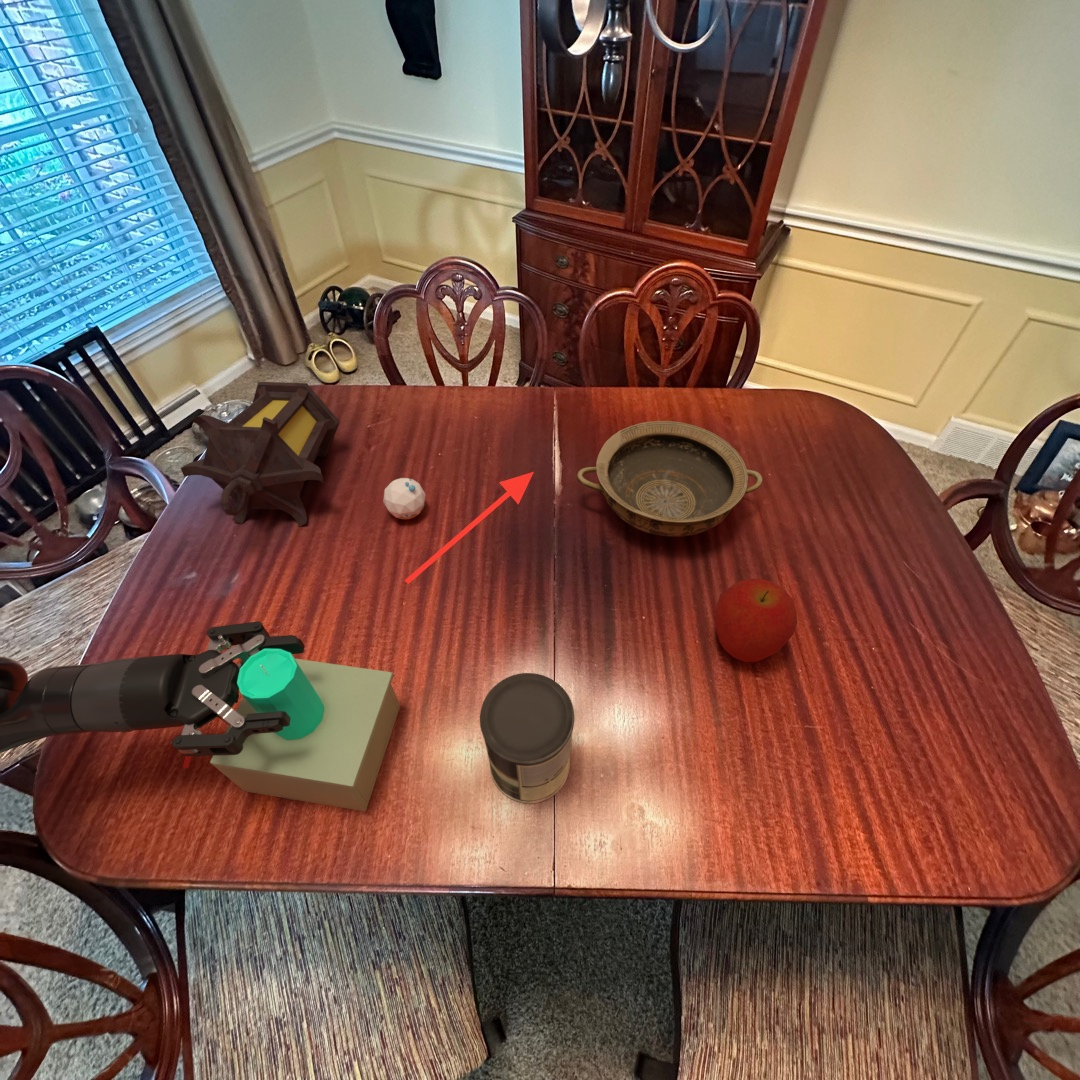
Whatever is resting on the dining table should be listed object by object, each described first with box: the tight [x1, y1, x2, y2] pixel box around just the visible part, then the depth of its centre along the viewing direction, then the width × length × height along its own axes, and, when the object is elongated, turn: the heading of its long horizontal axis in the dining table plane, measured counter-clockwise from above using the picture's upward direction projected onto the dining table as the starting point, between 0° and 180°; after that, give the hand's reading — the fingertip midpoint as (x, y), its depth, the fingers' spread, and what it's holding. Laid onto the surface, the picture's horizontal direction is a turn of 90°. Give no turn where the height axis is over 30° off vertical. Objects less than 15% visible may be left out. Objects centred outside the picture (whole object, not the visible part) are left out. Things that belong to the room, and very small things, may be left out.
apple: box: [713, 578, 798, 663], centre depth 81 cm, size 10×10×14 cm
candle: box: [237, 649, 324, 740], centre depth 66 cm, size 6×6×12 cm
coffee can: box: [479, 672, 576, 804], centre depth 71 cm, size 10×10×14 cm
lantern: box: [180, 381, 340, 528], centre depth 100 cm, size 21×23×30 cm
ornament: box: [382, 477, 427, 520], centre depth 101 cm, size 7×7×8 cm
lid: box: [209, 657, 394, 788], centre depth 71 cm, size 17×14×1 cm
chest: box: [212, 683, 401, 813], centre depth 74 cm, size 16×14×9 cm
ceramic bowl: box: [576, 420, 764, 538], centre depth 100 cm, size 30×24×10 cm
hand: (295, 680), depth 64 cm, fingers open, 8 cm apart
